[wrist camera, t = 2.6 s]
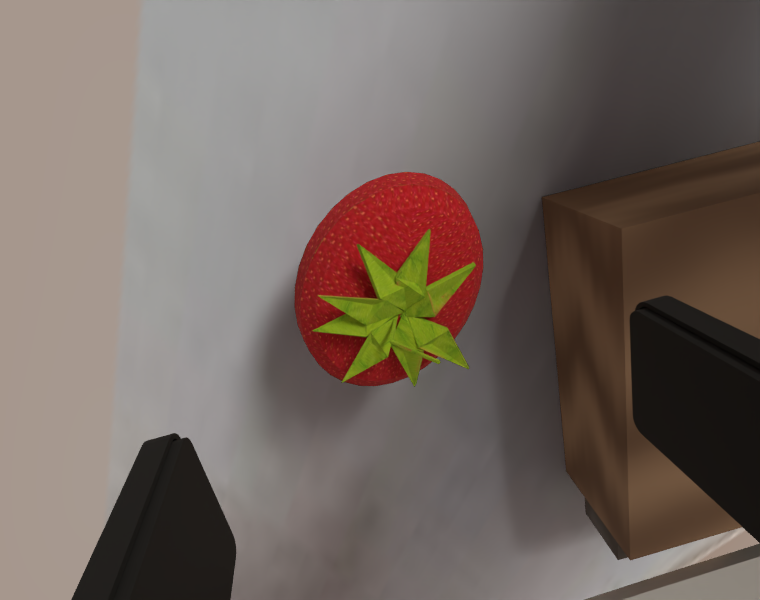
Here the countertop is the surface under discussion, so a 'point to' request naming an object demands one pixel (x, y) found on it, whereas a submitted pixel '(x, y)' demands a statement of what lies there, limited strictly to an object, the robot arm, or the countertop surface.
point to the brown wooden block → (612, 327)
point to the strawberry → (389, 280)
